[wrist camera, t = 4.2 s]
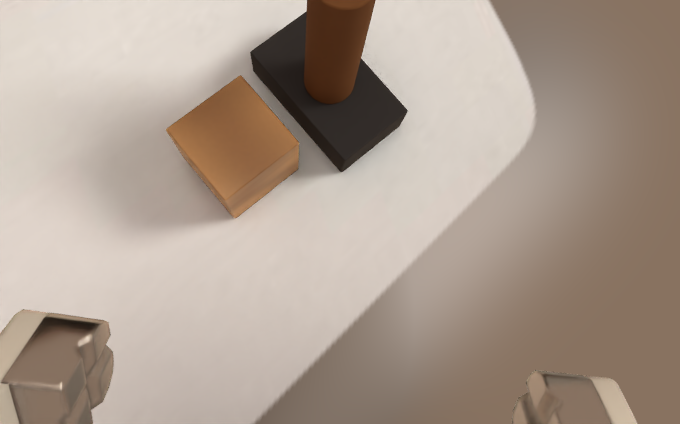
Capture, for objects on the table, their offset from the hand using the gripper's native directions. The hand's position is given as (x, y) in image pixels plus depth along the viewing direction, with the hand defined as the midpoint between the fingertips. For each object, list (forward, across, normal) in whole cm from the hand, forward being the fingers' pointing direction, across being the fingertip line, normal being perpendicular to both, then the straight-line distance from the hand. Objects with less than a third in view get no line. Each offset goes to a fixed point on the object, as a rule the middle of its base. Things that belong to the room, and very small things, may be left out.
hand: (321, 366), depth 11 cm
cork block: (+16, +4, +5) cm, 18 cm away
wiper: (+19, 0, +2) cm, 20 cm away
